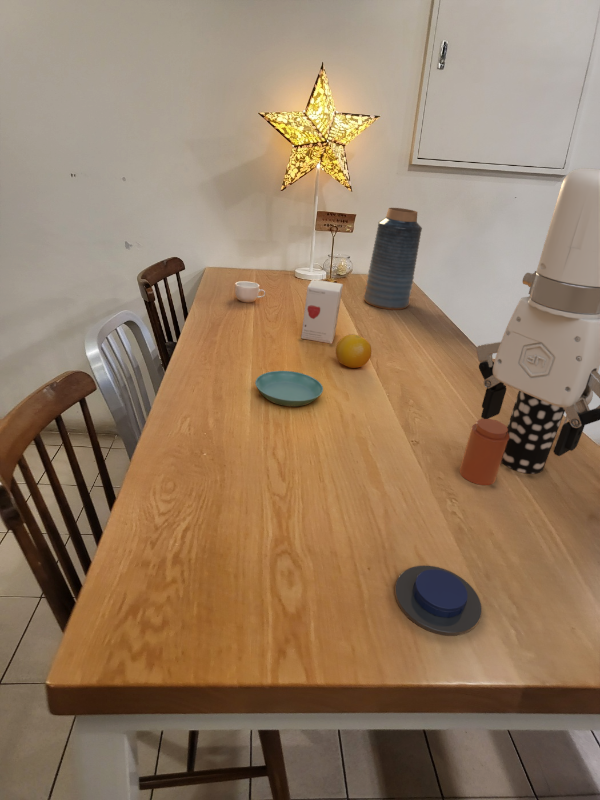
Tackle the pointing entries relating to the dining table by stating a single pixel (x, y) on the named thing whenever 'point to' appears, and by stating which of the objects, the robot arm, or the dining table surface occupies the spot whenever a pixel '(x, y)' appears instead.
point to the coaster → (428, 620)
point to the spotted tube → (531, 433)
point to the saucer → (289, 388)
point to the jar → (484, 451)
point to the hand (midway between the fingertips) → (524, 433)
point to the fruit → (353, 351)
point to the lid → (440, 593)
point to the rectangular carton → (321, 311)
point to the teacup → (247, 291)
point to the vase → (393, 260)
